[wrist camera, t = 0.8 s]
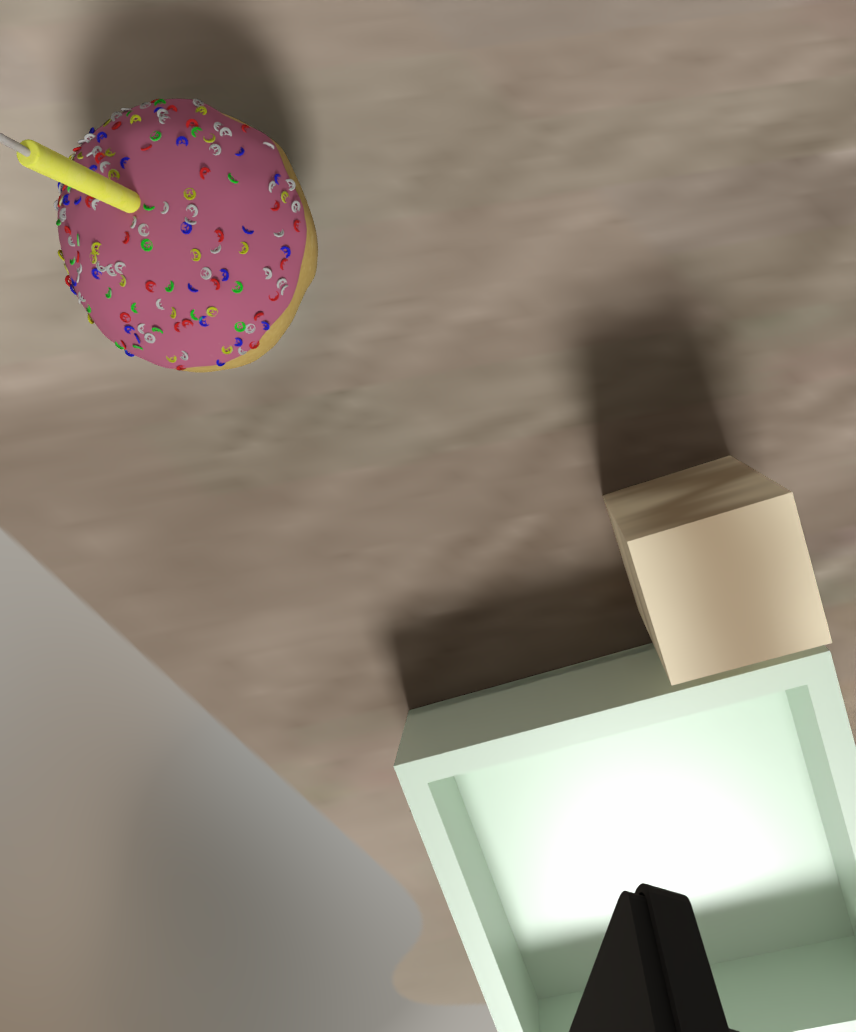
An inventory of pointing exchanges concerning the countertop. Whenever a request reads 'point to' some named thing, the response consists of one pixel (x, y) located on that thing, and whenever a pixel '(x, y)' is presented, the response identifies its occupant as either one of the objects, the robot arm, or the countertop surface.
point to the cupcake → (181, 233)
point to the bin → (647, 829)
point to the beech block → (718, 568)
